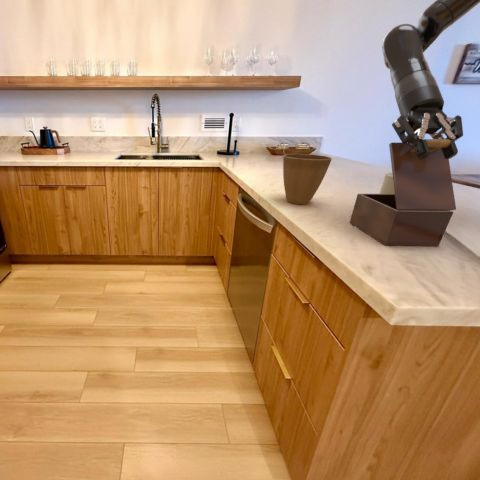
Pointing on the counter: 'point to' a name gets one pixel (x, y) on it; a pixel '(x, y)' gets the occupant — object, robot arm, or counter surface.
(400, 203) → the box lid
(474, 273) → the counter surface
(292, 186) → the plant pot
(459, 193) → the counter surface
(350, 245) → the counter surface
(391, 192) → the cream yellow block
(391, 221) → the bread box
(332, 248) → the counter surface
